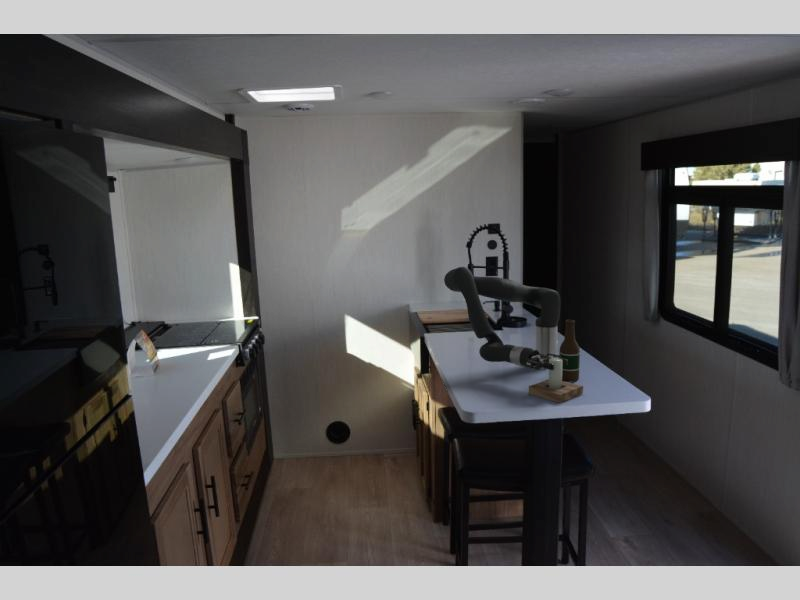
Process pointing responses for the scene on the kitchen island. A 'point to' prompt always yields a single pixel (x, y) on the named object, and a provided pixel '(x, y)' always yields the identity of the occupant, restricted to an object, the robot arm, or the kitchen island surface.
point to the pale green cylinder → (555, 374)
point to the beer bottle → (570, 353)
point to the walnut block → (556, 391)
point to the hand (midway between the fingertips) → (560, 364)
